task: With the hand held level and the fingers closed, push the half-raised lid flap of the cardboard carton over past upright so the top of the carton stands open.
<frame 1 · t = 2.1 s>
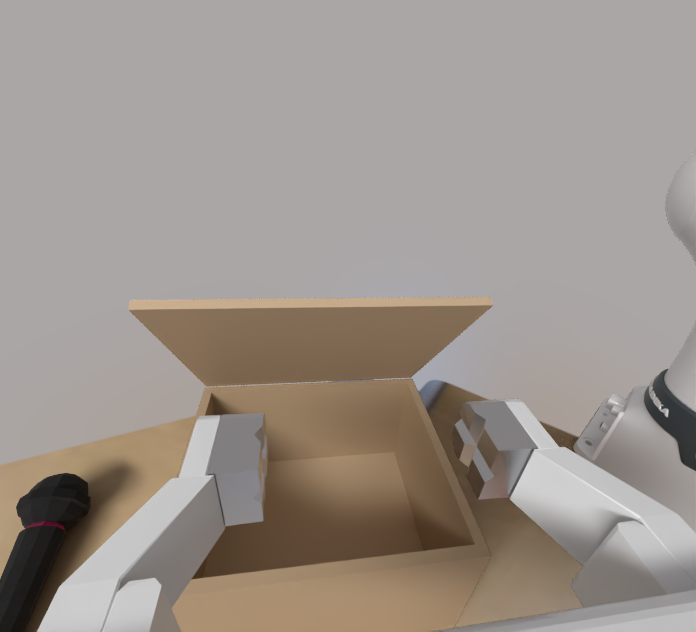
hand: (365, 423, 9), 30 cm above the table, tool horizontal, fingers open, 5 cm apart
carton: (316, 532, 35), on the table
flap: (317, 351, 29), point 20 cm above the table, hinge at 55.0°
microphone: (19, 605, 29), on the table
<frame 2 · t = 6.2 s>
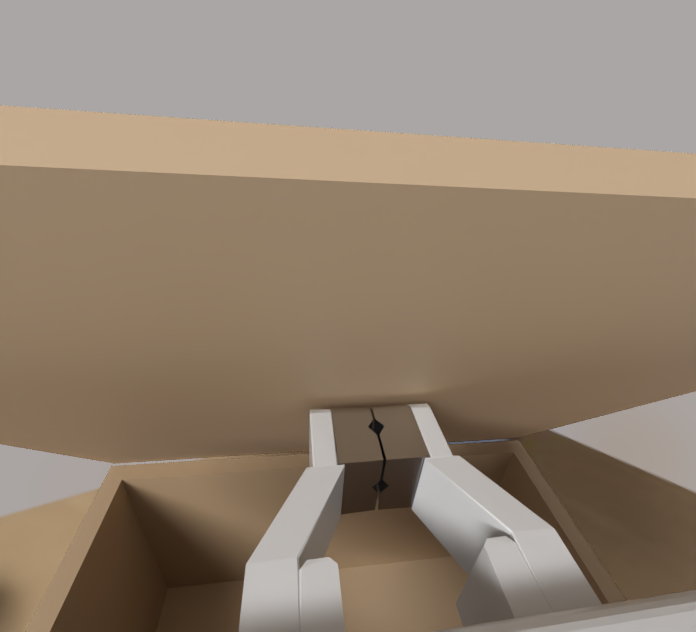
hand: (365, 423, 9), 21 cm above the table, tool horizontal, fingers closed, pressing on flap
flap: (355, 406, 11), point 20 cm above the table, hinge at 57.6°, touching gripper
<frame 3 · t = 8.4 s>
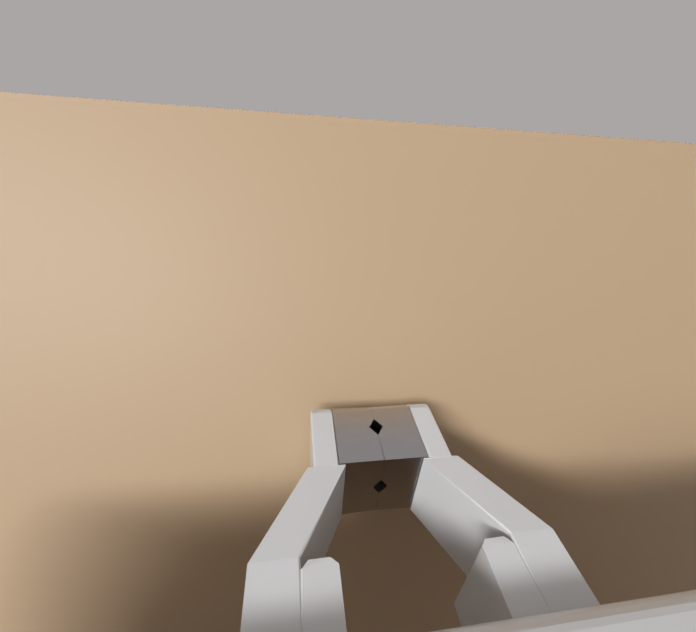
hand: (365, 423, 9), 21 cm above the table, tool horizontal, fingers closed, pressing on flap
flap: (367, 438, 10), point 20 cm above the table, hinge at 122.2°, touching gripper
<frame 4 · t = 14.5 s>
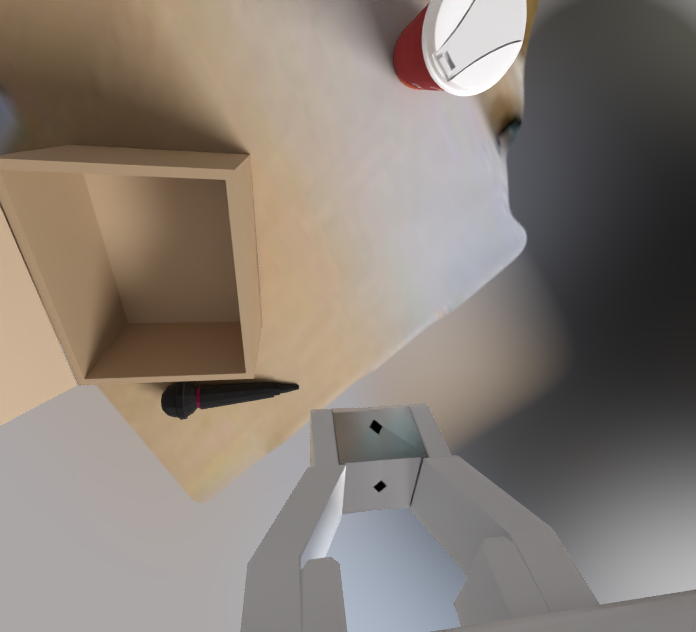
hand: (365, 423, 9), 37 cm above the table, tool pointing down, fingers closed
paper cup: (418, 56, 36), on the table
carton: (181, 248, 43), on the table
microphone: (233, 388, 55), on the table
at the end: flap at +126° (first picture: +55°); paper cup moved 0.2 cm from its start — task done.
